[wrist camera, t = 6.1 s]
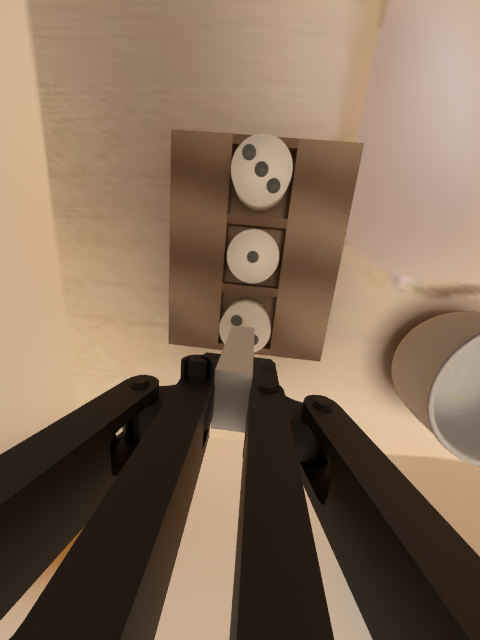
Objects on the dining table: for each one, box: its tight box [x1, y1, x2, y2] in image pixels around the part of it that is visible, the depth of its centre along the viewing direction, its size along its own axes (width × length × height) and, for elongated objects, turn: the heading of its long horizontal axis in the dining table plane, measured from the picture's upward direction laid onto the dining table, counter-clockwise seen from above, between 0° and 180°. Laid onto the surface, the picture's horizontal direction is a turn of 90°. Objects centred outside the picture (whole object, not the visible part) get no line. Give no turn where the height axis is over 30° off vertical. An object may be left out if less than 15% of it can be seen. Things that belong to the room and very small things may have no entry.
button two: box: [219, 299, 271, 353], centre depth 19 cm, size 4×4×3 cm
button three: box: [231, 133, 293, 211], centre depth 16 cm, size 4×4×3 cm
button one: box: [227, 229, 279, 283], centre depth 19 cm, size 4×4×3 cm
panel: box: [169, 130, 364, 361], centre depth 20 cm, size 17×14×2 cm
